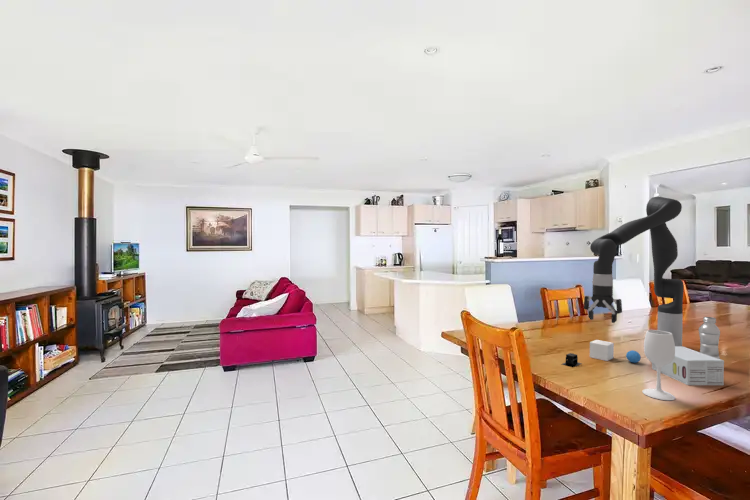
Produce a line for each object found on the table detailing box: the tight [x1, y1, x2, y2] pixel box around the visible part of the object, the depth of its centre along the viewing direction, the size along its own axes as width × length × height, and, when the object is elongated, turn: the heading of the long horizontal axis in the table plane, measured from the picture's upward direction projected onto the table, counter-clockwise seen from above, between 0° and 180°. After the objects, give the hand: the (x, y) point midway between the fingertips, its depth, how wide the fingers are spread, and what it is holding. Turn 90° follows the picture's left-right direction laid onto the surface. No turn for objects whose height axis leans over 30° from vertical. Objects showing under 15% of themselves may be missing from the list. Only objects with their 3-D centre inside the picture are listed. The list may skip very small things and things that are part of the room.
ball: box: [625, 350, 642, 364], centre depth 151 cm, size 5×5×5 cm
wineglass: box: [641, 329, 677, 401], centre depth 119 cm, size 9×9×21 cm
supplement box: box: [651, 345, 725, 386], centre depth 136 cm, size 17×13×9 cm
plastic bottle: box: [698, 316, 721, 359], centre depth 146 cm, size 6×7×20 cm
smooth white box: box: [589, 339, 615, 362], centre depth 158 cm, size 7×7×7 cm
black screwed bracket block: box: [561, 352, 583, 368], centre depth 150 cm, size 12×7×5 cm, turn 125°
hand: (602, 321), depth 158 cm, fingers open, 8 cm apart
